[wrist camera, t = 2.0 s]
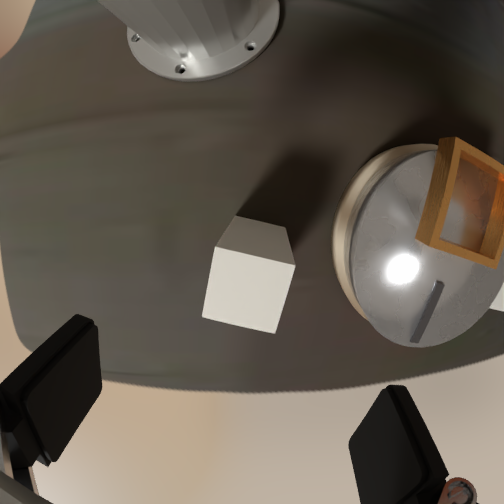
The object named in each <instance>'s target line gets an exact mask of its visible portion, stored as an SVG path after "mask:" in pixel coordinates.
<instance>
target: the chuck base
mask: <svg viewBox="0 0 504 504" xmlns="http://www.w3.org/2000/svg"><path fill="white" fill-rule="evenodd" d="M437 149H438V145H434V144H412V145H403V146H398V147H395V148H391V149H388V150H386V151H384V152H382V153H380V154H378V155H377V156H375V157H374V158H372V159H371V160H369V161H368V162H367V163H366V164H365V165H364V166H363V167H361V168H360V169H359V171H358V172H357V173H356V174H355V175H354V176H353V178H352V179H351V180H350V182H349V184H348V185H347V187H346V188H345V190H344V192H343V194H342V196H341V198H340V200H339V203H338V206H337V208H336V211H335V215H334V219H333V224H332V231H331V255H332V261H333V266H334V269H335V273H336V276H337V278H338V280H339V283H340V285H341V287H342V289H343V290H344V292H345V294H346V296H347V297H348V299H349V301H350V302H351V304H352V305H353V307H354V308H355V309H356V310H357V311H358V312H359V313H360V314H361V315H362V316H363V317H364V318H365V319H367V320H368V318H367V317H366V315H365V313H364V312H363V310H362V308H361V307H360V305H359V303H358V302H357V300H356V298H355V297H354V295H353V293H352V291H351V288H350V286H349V284H348V280H347V276H346V273H345V265H344V239H345V232H346V228H347V223H348V220H349V217H350V214H351V211H352V208H353V206H354V204H355V202H356V200H357V198H358V196H359V194H360V193H361V191H362V190H363V188H364V187H365V185H366V184H367V182H368V181H369V180H370V179H371V178H372V177H373V175H374V174H375V173H376V172H378V171H379V170H380V169H381V168H382V167H383V166H384V165H386V164H387V163H389V162H390V161H392V160H393V159H395V158H397V157H399V156H401V155H403V154H407V153H410V152H413V151H421V150H437ZM368 321H369V320H368Z"/></svg>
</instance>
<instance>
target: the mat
mask: <svg viewBox="0 0 504 504" xmlns="http://www.w3.org/2000/svg"><path fill="white" fill-rule="evenodd" d="M489 308H491V309H495V310H500V311H504V282H503V285H502V287H501V289H500V291H499V293H498V295H497V296H496V298H495V300H494V301H493V303H492V304H491V306H490V307H489Z"/></svg>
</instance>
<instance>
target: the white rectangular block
mask: <svg viewBox="0 0 504 504" xmlns="http://www.w3.org/2000/svg"><path fill="white" fill-rule="evenodd" d="M294 269H295V262H294V258H293V254H292V250H291V247H290V243H289V239H288V236H287V232H286V228H285V227H282V226H277V225H273V224H269V223H265V222H261V221H256V220H252V219H248V218H243V217H239V216H234V218H233V219H232V221H231V223H230V224H229V226H228V227H227V229H226V230H225V232H224V234H223V235H222V237H221V238H220V240H219V241H218V243H217V245H216V246H215V250H214V255H213V260H212V266H211V271H210V276H209V281H208V287H207V292H206V298H205V303H204V309H203V314H202V317H204V318H208V319H212V320H216V321H221V322H225V323H229V324H233V325H238V326H242V327H247V328H251V329H256V330H260V331H265V332H270V333H275V331H276V328H277V325H278V322H279V319H280V315H281V312H282V309H283V306H284V302H285V299H286V296H287V292H288V289H289V286H290V282H291V279H292V276H293V272H294Z"/></svg>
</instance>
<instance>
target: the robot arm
mask: <svg viewBox="0 0 504 504" xmlns="http://www.w3.org/2000/svg"><path fill="white" fill-rule="evenodd" d="M97 1H98V2H99V3H101V4H102V5H103V6H104V7H106V8H107V9H108V10H109V11H110V12H112V13H113V14H114V15H115V16H116V17H118V18H119V19H120V20H121V21H122V22H124V23H125V24H126V25H127V38H128V44H129V47H130V49H131V51H132V53H133V55H134V56H135V58H136V59H137V60H138V61H139V62H140V63H141V64H142V65H143V66H144V67H146V68H147V69H148V70H150V71H152V72H153V73H155V74H157V75H158V76H161V77H164V78H167V79H170V80H177V81H184V82H187V81H204V80H209V79H215V78H218V77H221V76H224V75H227V74H230V73H232V72H234V71H236V70H238V69H240V68H242V67H244V66H245V65H247V64H248V63H250V62H251V61H253V60H254V59H255V58H257V57H258V56H259V55H260V54H261V53H262V52H263V51H264V50H265V49H266V47H267V46H268V45H269V43H270V42H271V40H272V39H273V37H274V35H275V32H276V30H277V27H278V22H279V1H278V0H97ZM248 48H254V50H252V51H248ZM182 70H185V72H184V73H182V74H181V71H182ZM101 390H102V378H101V368H100V356H99V340H98V327H97V326H96V325H94V321H93V320H92V319H90V318H87V317H84V316H82V315H79V314H76V315H74V316H73V317H72V318H71V319H70V320H69V321H67V322H66V323H65V324H64V325H63V326H62V327H61V328H59V329H58V330H57V331H56V332H55V333H54V334H53V335H52V336H50V337H49V338H48V339H47V340H46V341H45V342H44V343H43V344H42V345H40V346H39V347H38V348H37V349H36V350H35V351H34V352H33V353H32V354H31V355H30V356H29V357H27V358H26V359H25V361H23V362H22V363H21V364H20V365H19V366H18V367H17V368H16V369H15V370H14V371H13V372H12V373H11V374H10V375H9V376H8V377H7V378H6V379H5V380H4V381H3V382H2V383H1V384H0V504H53V503H51V502H49V501H48V500H46V499H44V498H42V497H41V496H39V493H38V489H37V485H36V482H35V478H34V474H33V470H32V466H33V464H34V462H35V461H36V460H37V461H39V462H40V463H42V464H44V465H45V466H49V465H50V463H51V462H56V461H57V460H58V459H59V457H60V455H61V454H62V452H63V451H64V449H65V447H66V446H67V444H68V443H69V441H70V440H71V438H72V436H73V435H74V433H75V432H76V430H77V429H78V427H79V425H80V424H81V422H82V421H83V419H84V418H85V416H86V415H87V413H88V412H89V410H90V409H91V407H92V405H93V404H94V403H95V401H96V400H97V398H98V397H99V395H100V393H101ZM349 451H350V455H351V460H352V464H353V469H354V474H355V478H356V483H357V487H358V492H359V497H360V502H361V504H478V503H477V502H476V501H477V493H476V490H475V488H474V486H473V485H472V484H471V483H470V482H469V481H468V480H466V479H464V478H460V477H455V478H452V479H450V480H449V481H447V482H446V480H445V478H446V477H447V476H448V475H449V473H448V471H447V469H446V467H445V464H444V462H443V460H442V458H441V456H440V453H439V451H438V449H437V447H436V445H435V443H434V441H433V439H432V437H431V435H430V433H429V430H428V429H427V426H426V424H425V422H424V420H423V418H422V417H421V414H420V413H419V411H418V409H417V407H416V405H415V403H414V401H413V399H412V397H411V395H410V393H409V391H408V390H407V388H406V387H405V386H403V385H388V386H387V387H386V388H385V389H383V390H382V391H381V392H380V394H379V395H378V397H377V398H376V400H375V402H374V403H373V405H372V407H371V408H370V410H369V411H368V413H367V414H366V416H365V417H364V419H363V420H362V422H361V423H360V425H359V426H358V428H357V429H356V431H355V432H354V434H353V435H352V436H351V438H350V440H349Z"/></svg>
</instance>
